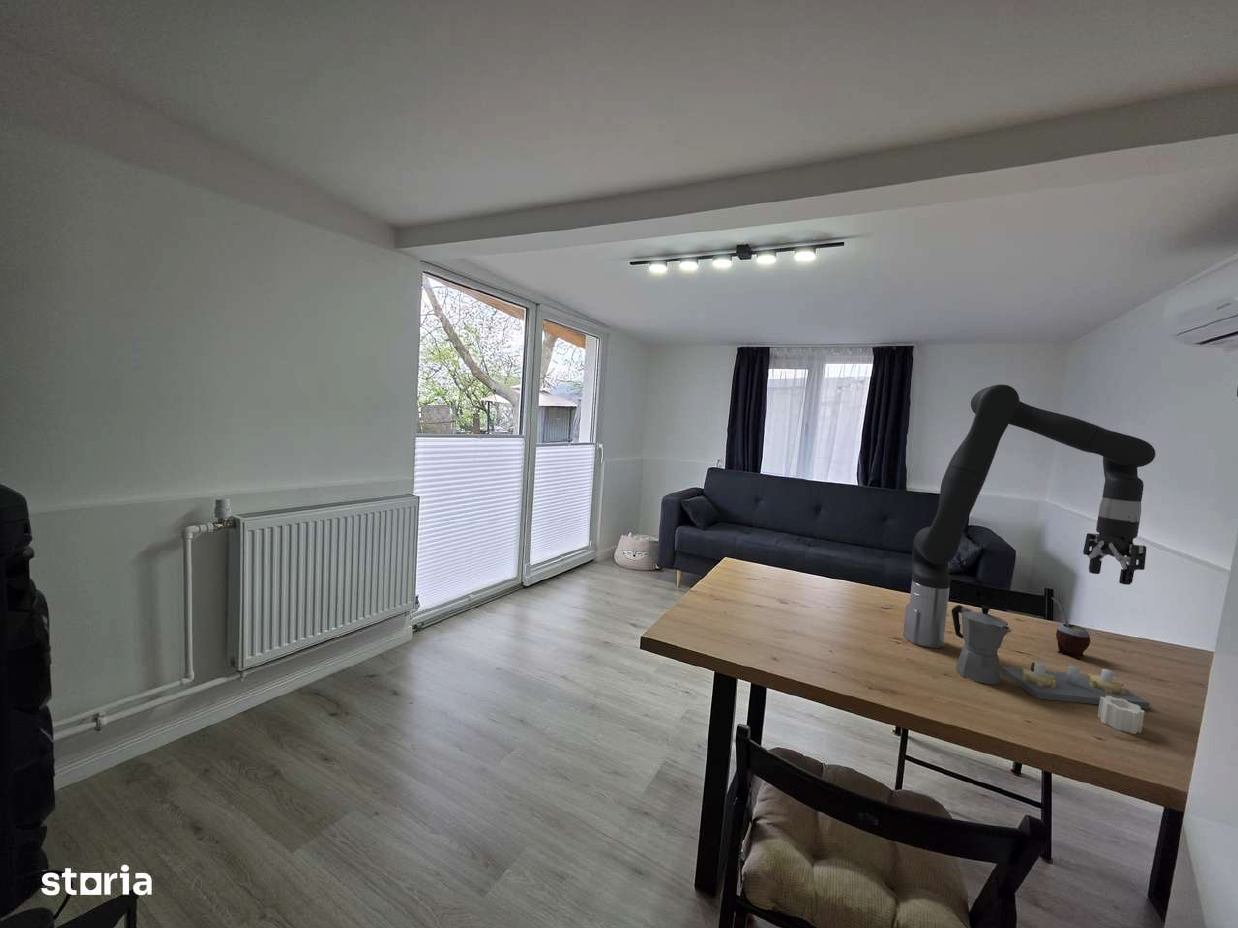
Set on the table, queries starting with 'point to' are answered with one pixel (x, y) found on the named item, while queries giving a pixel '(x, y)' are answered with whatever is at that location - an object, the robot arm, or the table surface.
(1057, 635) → the mate gourd
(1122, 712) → the ivory gear
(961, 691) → the table surface
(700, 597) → the table surface
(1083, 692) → the gear board
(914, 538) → the robot arm
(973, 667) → the coffeepot
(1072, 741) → the table surface
